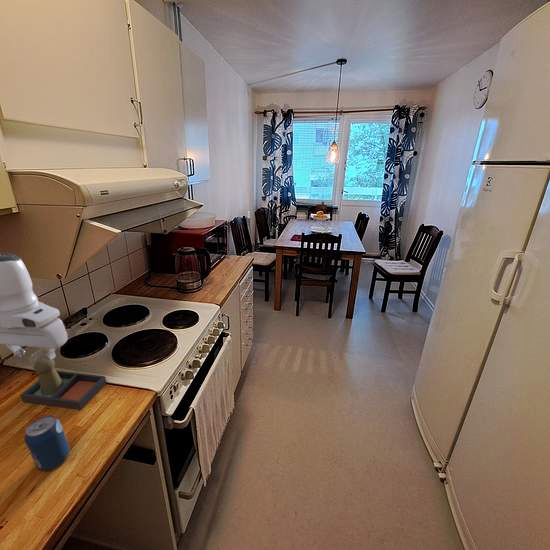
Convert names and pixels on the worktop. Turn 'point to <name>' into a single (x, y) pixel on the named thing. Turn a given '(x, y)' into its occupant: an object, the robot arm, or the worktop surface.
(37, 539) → the worktop surface
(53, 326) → the robot arm
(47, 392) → the olive green rounded piece
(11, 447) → the worktop surface
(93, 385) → the sorting tray
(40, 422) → the soda can
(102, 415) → the worktop surface
